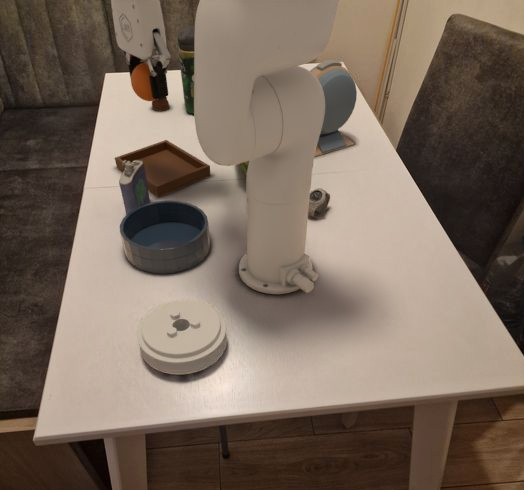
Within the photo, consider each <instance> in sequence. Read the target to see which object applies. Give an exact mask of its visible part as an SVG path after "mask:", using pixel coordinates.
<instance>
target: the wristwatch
mask: <svg viewBox="0 0 524 490" xmlns="http://www.w3.org/2000/svg"><path fill="white" fill-rule="evenodd" d="M330 200H331V194H330V193H328V192H327V190H325V189H323V188H315V189H313V190H312V191H310V197H309V209H308V217H311V218H315V219H317V217H319V216H320V215H322V214H324V212H325V211H326V210H327V209H328V206H329V204H330Z"/></svg>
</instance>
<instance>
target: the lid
mask: <svg viewBox="0 0 524 490" xmlns="http://www.w3.org/2000/svg"><path fill="white" fill-rule="evenodd" d="M136 339H137V342H138V345H139V350H140V354H141V357H142V358H143V360H144V361H145V363H147V364H148V366H150V367H151V368H153V369H155V370H157V371H159V372H161V373H164V374H169V375H177V376H178V375H190V374H195V373H198V372H201V371H203V370H205V369H207V368H209V367H210V366H212V365H214V364H215V363H216V362H217V361H218V360H219V359H220V358H221V357H222V355H223V354H224V353H225V350H226V347H227V344H228V335H227V323H226V319H225V317H224V315H223V313H221V311H220V310H219V309H218V308H217V307H215V306H214V305H212V304H210V303H208V302H205V301H202V300H197V299H192V298H191V299H190V298H181V299H174V300H169V301H166V302H164V303H161V304H159V305H157V306H155V307H154V308H151V310H149V311H147V313H146V314H145V315H144V316H143V317H142V318H141V320H140V321H139V323H138V326H137V329H136Z"/></svg>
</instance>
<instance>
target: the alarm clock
mask: <svg viewBox="0 0 524 490" xmlns="http://www.w3.org/2000/svg"><path fill="white" fill-rule="evenodd" d="M342 64H343V63H342V62H340V61H338V60H335V59H327V60H323V61H321V62H320V63H318V64H317V65H316V66H315V67H313V68H312V69H309V71H311V72H312V73H313V74H314V75H315V76H316V77H317V79H318V80H319V82H320V84H321V86H322V89H323V92H324V96H325V115H324V121H323V126H322V129H321V133H320V136H319V140H318V143H317V147H316V151H315V156H314V158H315V157H319V156H322V155H325V154H329V153H332V152H335V151H338V150H341V149H345V148H348V147H352V146H355V142H353V141H352V140H350V138H348V137H346V136H345V135H343V134H342V132H341V131H340V130H339V129H341V128H342V127H343V126H344V125H345V124H346V123H347V122H348V121H349V119H350V118H351V116H352V114H353V112H354V109H355V107H356V102H357V96H358V94H357V86H356V82H355V80H354V78H353V76H352V75H351V73H350V71H349V70H348V69H346V67H344V66H343V65H342Z"/></svg>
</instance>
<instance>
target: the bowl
mask: <svg viewBox="0 0 524 490" xmlns="http://www.w3.org/2000/svg"><path fill="white" fill-rule="evenodd" d="M208 219H209V218H208V216H207V215H206V213H205V212H204V210H202V209H201V208H200V207H198V206H197V205H194V204H192V203H189V202H186V201H180V200H169V199H168V200H158V201H153V202H150V203H148V204H145V205H142V206H140V207H137V208H135V209H134V210H132V211H131V212H129V213H128V214H127V215H126V214H125V216H124V217H122V220H121V222H120V224H119V234H120V238H121V242H122V246H123V250H124V253H125V256H126V259H127V260H128V262H129V263H130V264H131V265H132V266H134V267H135V268H137V269H138V270H141V271H143V272H146V273H151V274H159V275H160V274H161V275H165V274H166V275H167V274H174V273H179V272H184V271H186V270H189V269H192V268H193V267H195V266H196V265H197V266H198V264H200V263H201V262H202V261H203V260H204V259H206V257H207V256H208V254H209V252H210V249H211V238H210V237H211V236H210V227H209V226H210V225H209V220H208Z"/></svg>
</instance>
